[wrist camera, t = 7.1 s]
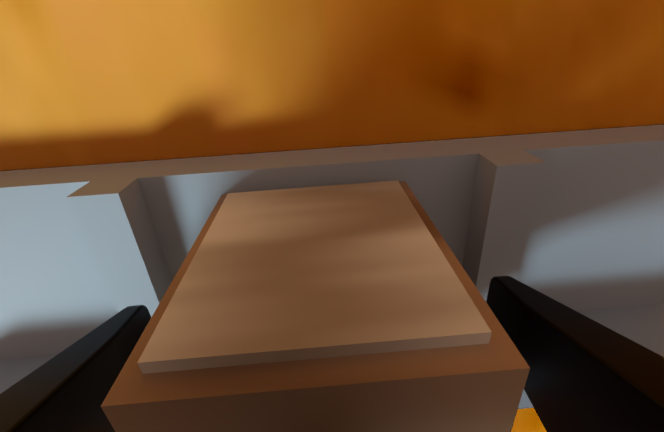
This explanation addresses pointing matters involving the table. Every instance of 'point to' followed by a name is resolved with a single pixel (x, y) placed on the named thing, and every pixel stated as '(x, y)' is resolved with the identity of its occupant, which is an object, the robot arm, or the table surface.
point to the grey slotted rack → (338, 169)
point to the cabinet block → (320, 325)
